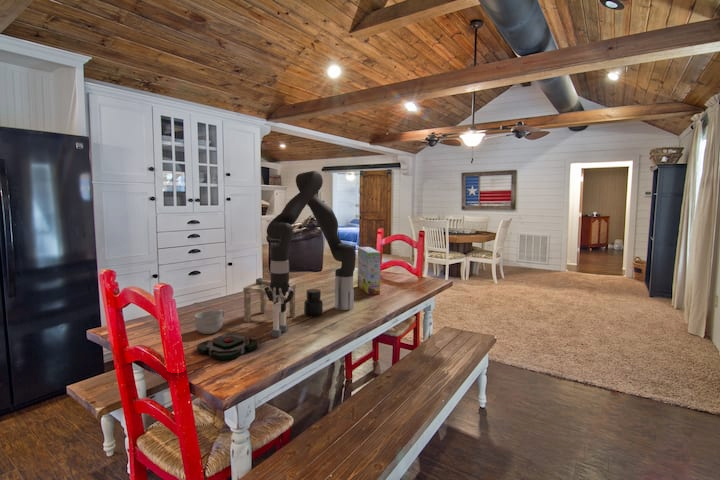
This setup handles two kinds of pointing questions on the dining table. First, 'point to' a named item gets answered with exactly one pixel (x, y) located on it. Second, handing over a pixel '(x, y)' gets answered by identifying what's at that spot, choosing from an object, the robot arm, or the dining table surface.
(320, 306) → the ink bottle
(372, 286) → the snack box
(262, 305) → the beige wooden frame
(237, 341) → the four-lobed dark green device
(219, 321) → the teacup
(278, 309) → the white rectangular prism
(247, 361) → the dining table surface
